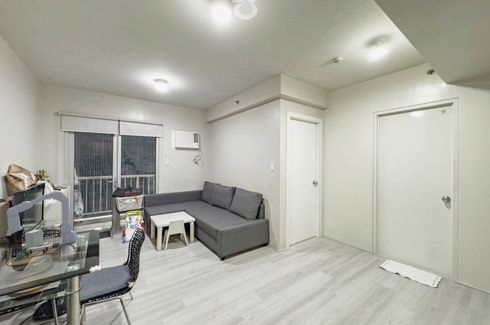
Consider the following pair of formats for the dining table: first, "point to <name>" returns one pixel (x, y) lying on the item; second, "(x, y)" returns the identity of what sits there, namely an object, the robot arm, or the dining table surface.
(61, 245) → the mat
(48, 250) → the board
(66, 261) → the dining table surface
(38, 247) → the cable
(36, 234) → the supplement box
